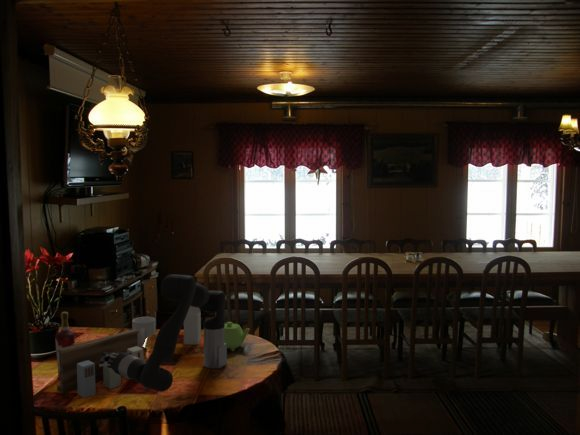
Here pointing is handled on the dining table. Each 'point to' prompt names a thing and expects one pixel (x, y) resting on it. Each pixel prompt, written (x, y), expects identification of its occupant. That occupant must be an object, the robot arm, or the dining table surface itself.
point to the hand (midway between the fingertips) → (103, 354)
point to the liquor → (64, 338)
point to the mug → (144, 328)
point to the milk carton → (192, 326)
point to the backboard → (91, 357)
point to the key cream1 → (136, 352)
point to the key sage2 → (111, 378)
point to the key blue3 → (86, 378)
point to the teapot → (234, 335)
